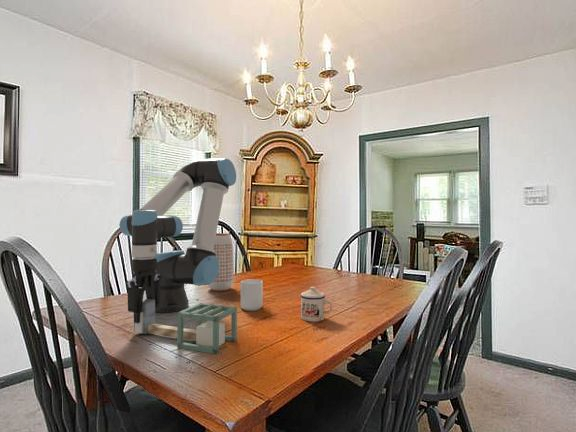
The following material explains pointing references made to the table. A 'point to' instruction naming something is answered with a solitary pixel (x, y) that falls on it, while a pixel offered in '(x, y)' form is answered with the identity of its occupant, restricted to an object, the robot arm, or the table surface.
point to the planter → (223, 262)
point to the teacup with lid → (313, 305)
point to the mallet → (158, 329)
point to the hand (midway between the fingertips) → (144, 330)
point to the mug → (251, 294)
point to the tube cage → (207, 316)
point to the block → (209, 334)
